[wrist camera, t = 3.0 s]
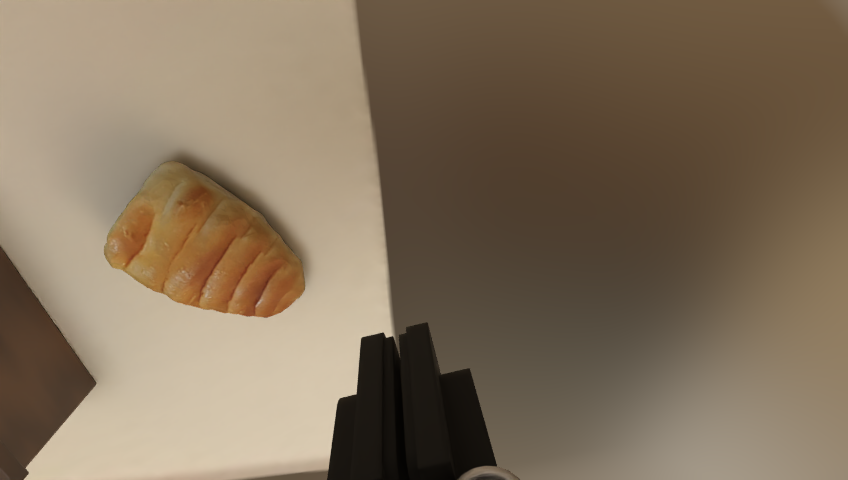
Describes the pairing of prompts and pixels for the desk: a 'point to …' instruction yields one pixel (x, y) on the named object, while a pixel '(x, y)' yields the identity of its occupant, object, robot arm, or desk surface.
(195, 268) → the pastry
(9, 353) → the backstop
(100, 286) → the desk surface
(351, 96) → the desk surface
